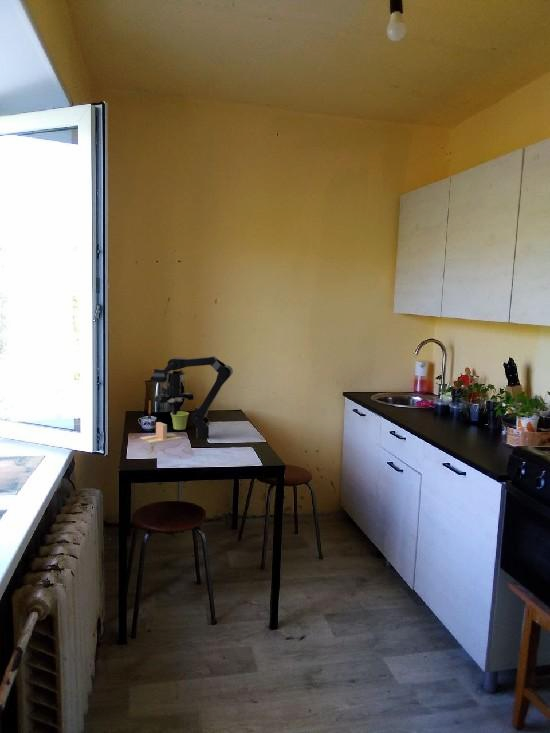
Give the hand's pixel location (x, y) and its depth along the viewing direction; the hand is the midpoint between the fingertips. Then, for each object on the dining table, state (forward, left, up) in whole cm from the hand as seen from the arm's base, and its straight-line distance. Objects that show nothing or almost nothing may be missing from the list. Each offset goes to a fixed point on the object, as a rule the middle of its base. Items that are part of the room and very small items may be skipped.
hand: (174, 415), depth 266 cm
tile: (0, +7, -10) cm, 13 cm away
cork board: (0, +7, -11) cm, 13 cm away
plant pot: (+12, -10, -11) cm, 19 cm away
